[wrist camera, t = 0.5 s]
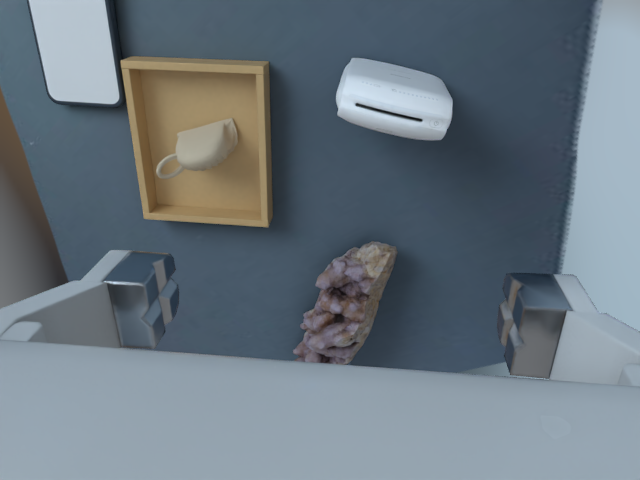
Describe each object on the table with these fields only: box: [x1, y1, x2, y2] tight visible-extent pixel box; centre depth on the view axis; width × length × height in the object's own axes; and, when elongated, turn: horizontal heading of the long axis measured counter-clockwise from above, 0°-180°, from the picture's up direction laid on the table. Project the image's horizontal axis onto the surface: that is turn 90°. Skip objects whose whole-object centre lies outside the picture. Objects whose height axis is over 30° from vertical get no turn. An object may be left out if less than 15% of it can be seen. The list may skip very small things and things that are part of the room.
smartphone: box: [27, 0, 126, 108], centre depth 54 cm, size 9×2×16 cm
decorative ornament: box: [156, 118, 238, 179], centre depth 57 cm, size 4×8×5 cm, turn 105°
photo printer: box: [336, 58, 453, 140], centre depth 49 cm, size 10×4×12 cm, turn 78°
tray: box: [121, 56, 273, 227], centre depth 58 cm, size 18×15×3 cm
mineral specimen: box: [293, 241, 398, 365], centre depth 63 cm, size 20×10×10 cm
